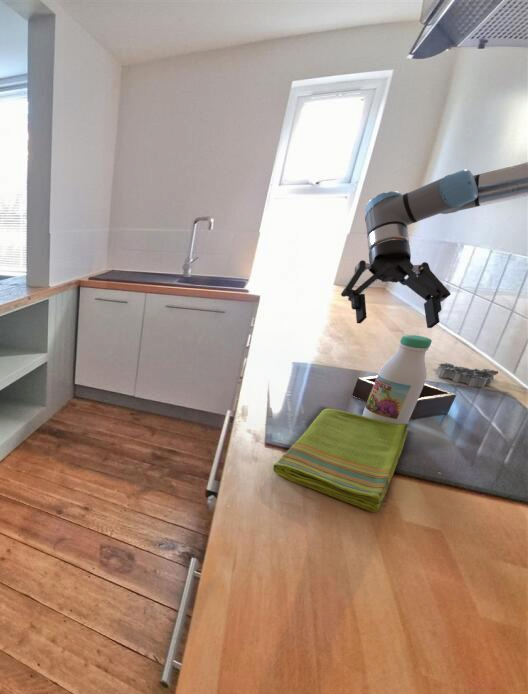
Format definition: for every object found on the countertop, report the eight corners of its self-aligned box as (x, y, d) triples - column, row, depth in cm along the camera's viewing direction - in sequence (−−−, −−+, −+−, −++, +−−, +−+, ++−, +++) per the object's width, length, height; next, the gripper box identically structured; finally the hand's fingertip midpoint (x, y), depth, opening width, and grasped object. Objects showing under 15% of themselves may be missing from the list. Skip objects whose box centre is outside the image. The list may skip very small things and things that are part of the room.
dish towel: (269, 474, 75) (274, 459, 74) (321, 412, 97) (325, 400, 96) (376, 517, 65) (384, 500, 63) (407, 436, 87) (413, 423, 86)
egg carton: (494, 385, 112) (502, 371, 110) (477, 389, 110) (484, 375, 108) (447, 371, 121) (453, 358, 119) (430, 374, 119) (436, 361, 117)
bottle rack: (447, 413, 97) (456, 394, 95) (408, 420, 94) (417, 400, 92) (387, 391, 109) (394, 373, 107) (351, 396, 106) (357, 378, 104)
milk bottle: (384, 414, 97) (418, 331, 89) (415, 430, 89) (454, 342, 81) (352, 414, 96) (383, 332, 88) (380, 431, 89) (416, 343, 81)
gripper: (440, 260, 102) (452, 335, 95) (323, 256, 109) (326, 326, 102) (463, 238, 95) (478, 318, 88) (336, 237, 102) (341, 310, 95)
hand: (396, 322), depth 95 cm, fingers open, 13 cm apart
